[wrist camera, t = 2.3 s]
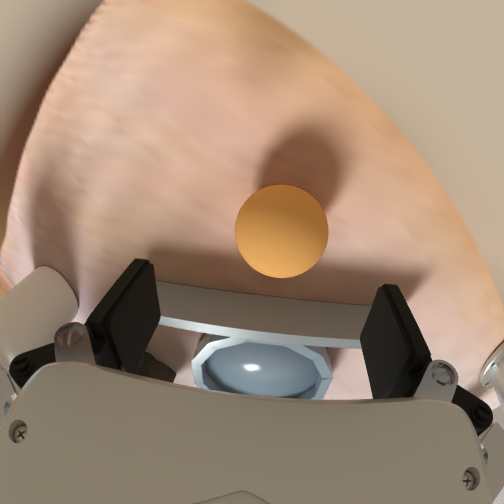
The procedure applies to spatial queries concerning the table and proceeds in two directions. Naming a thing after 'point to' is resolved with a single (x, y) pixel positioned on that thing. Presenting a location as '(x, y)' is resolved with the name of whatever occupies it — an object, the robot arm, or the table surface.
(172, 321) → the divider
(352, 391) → the table surface
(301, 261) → the ball
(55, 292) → the pill bottle
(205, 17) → the table surface
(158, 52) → the table surface
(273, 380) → the bowl
